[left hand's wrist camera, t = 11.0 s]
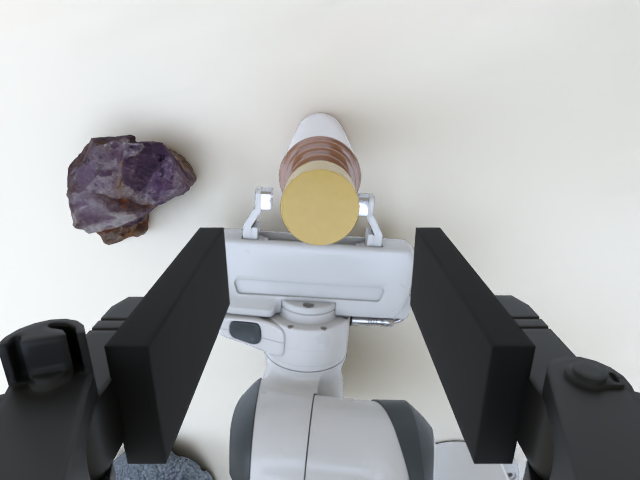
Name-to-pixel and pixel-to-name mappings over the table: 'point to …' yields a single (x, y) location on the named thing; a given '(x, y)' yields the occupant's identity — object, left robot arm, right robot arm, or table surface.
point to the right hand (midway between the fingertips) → (315, 191)
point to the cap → (319, 203)
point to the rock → (123, 185)
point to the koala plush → (160, 470)
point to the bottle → (319, 148)
